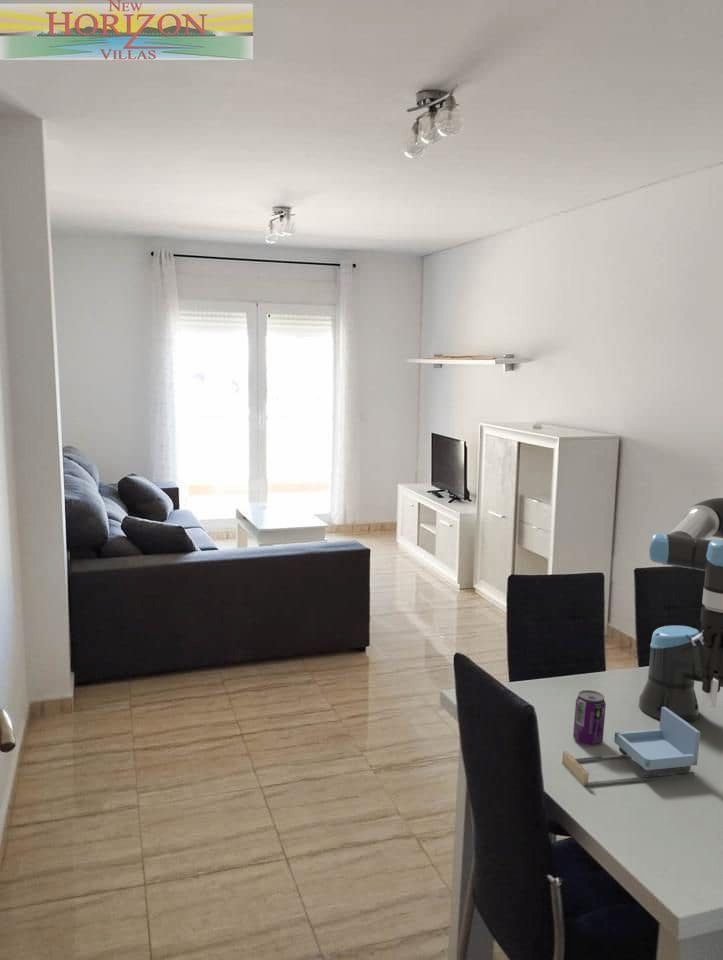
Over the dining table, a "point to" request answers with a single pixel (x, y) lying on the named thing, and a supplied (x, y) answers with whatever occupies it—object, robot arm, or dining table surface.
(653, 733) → the pale blue open box
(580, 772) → the track
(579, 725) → the beverage can
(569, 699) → the dining table surface
